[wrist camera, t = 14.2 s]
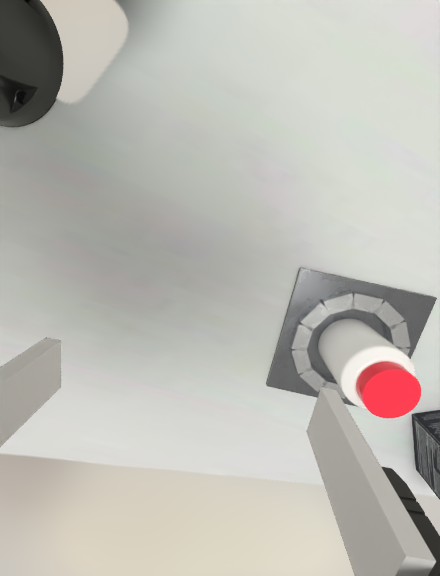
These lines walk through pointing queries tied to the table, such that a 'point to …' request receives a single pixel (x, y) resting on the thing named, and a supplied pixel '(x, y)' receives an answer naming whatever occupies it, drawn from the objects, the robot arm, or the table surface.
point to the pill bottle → (369, 368)
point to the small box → (428, 447)
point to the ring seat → (330, 308)
